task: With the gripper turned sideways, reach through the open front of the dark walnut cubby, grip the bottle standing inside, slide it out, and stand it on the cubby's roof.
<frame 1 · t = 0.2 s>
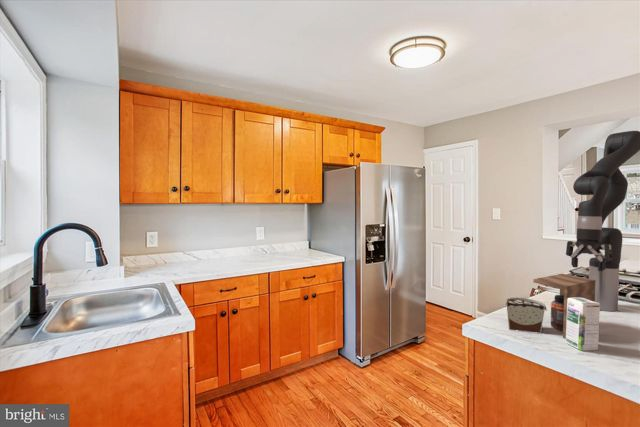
hand: (587, 269, 124), 18 cm above the countertop, tool pointing down, fingers open, 8 cm apart
supplement bottle: (561, 328, 111), on the countertop
syrup box: (581, 347, 97), on the countertop
food container: (522, 328, 111), on the countertop
walnut cubby: (561, 328, 111), on the countertop
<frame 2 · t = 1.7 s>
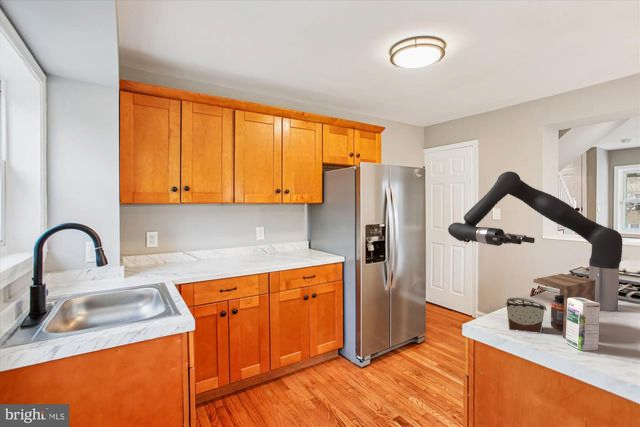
hand: (527, 241, 126), 28 cm above the countertop, tool horizontal, fingers open, 8 cm apart
nothing on the countertop moved.
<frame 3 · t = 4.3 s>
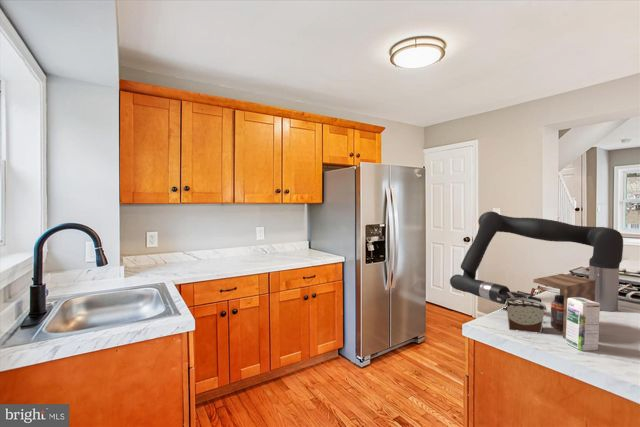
hand: (534, 303, 119), 6 cm above the countertop, tool horizontal, fingers open, 8 cm apart
nothing on the countertop moved.
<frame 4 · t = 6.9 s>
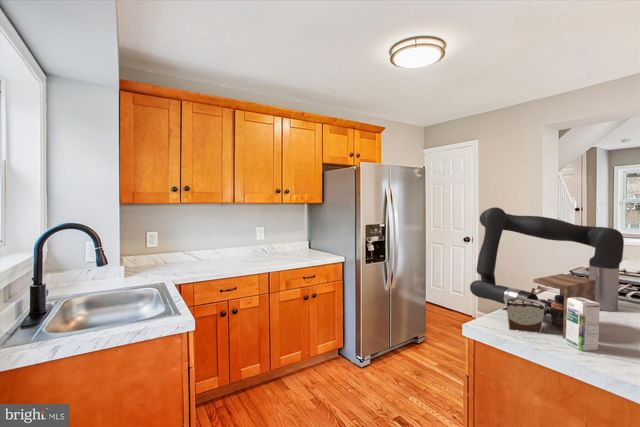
hand: (569, 313, 108), 6 cm above the countertop, tool horizontal, fingers closed on supplement bottle, 6 cm apart
supplement bottle: (561, 328, 111), on the countertop, touching gripper
everything else where it was.
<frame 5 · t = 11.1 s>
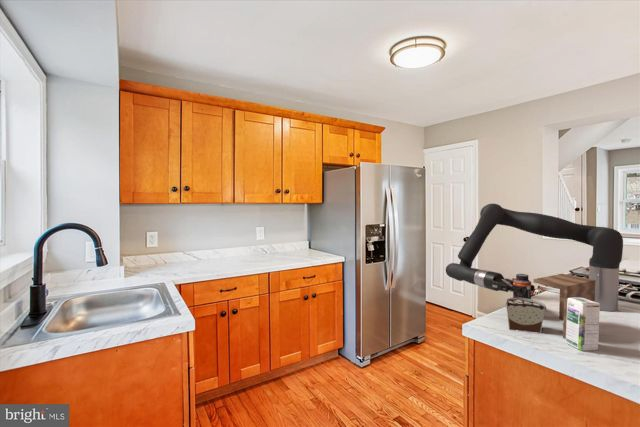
hand: (528, 289, 120), 11 cm above the countertop, tool horizontal, fingers closed on supplement bottle, 6 cm apart
supplement bottle: (521, 303, 123), point 4 cm above the countertop, touching gripper
everything else where it was.
when the fingers open (24 cm above the countertop, at t = 15.6 s): supplement bottle stays where it is, resting on walnut cubby.
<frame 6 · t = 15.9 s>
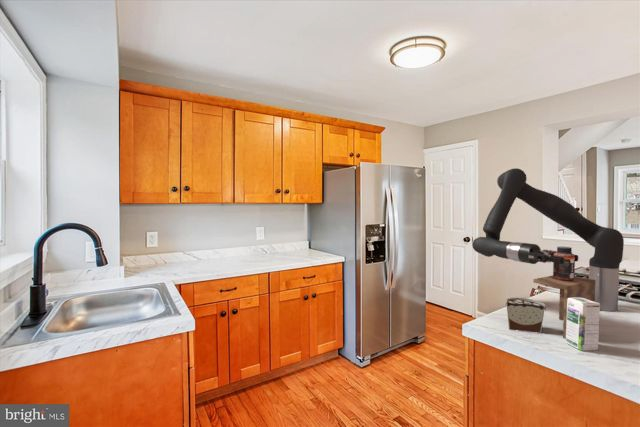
hand: (571, 259, 108), 24 cm above the countertop, tool horizontal, fingers open, 8 cm apart
supplement bottle: (563, 279, 110), point 17 cm above the countertop, touching walnut cubby
everything else where it was.
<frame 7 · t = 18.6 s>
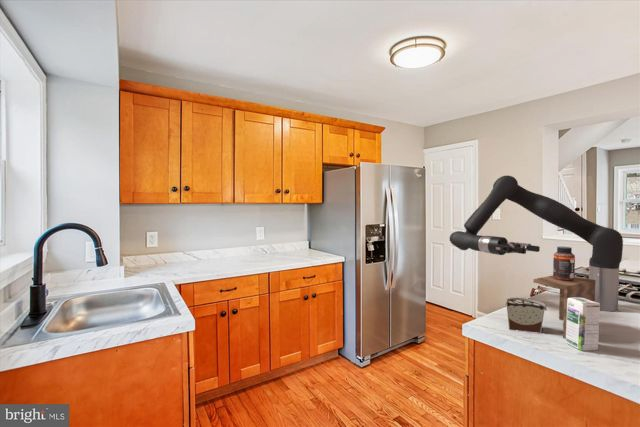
hand: (532, 250, 121), 26 cm above the countertop, tool horizontal, fingers open, 8 cm apart
nothing on the countertop moved.
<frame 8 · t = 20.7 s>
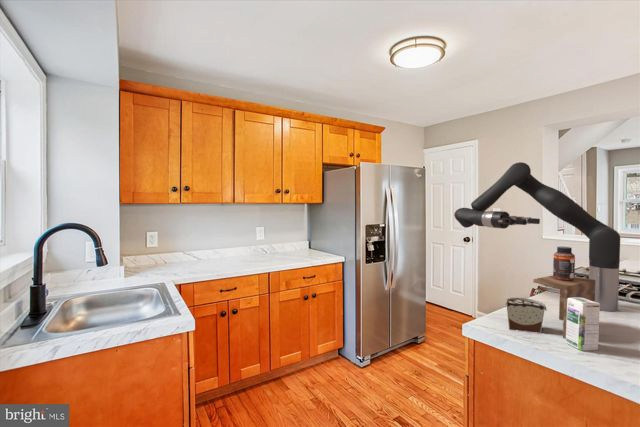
hand: (532, 221, 128), 36 cm above the countertop, tool horizontal, fingers open, 8 cm apart
nothing on the countertop moved.
at the end: supplement bottle inside the target area on the walnut cubby (0.5 cm from its centre), point 17.0 cm above the walnut cubby's base; supplement bottle tilted 0°; the gripper is holding nothing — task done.
